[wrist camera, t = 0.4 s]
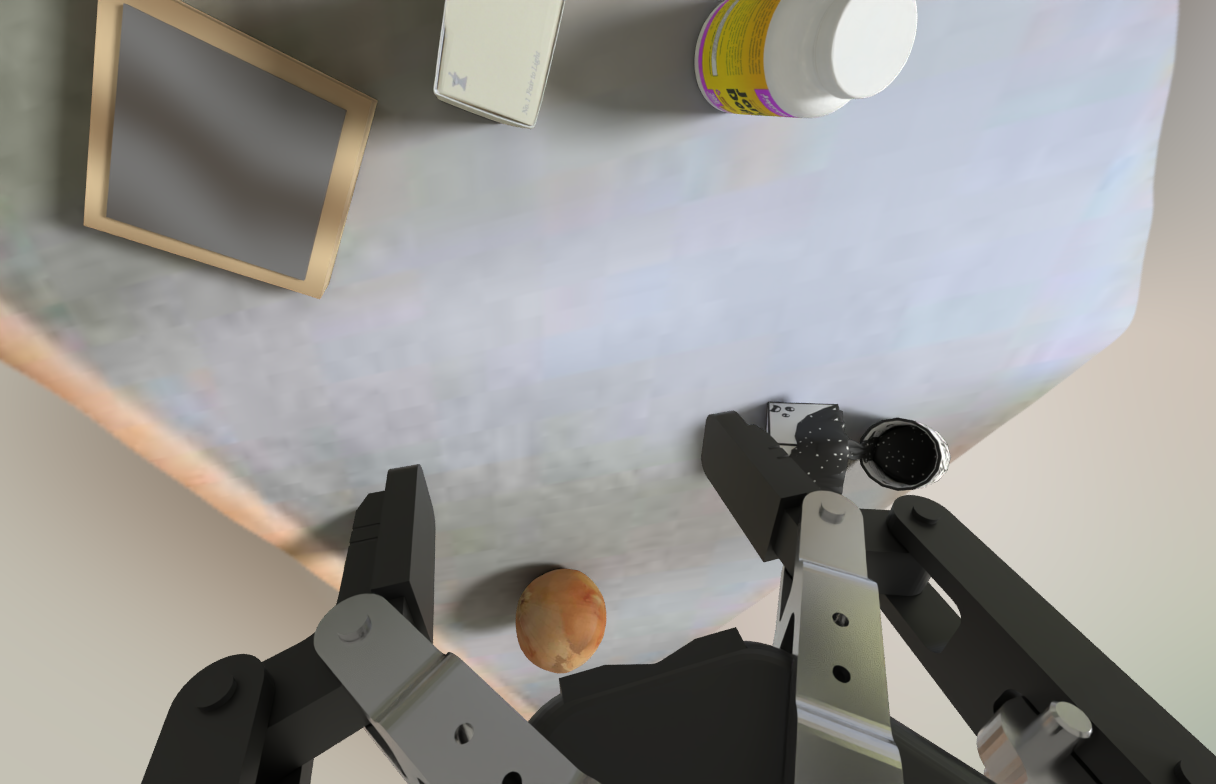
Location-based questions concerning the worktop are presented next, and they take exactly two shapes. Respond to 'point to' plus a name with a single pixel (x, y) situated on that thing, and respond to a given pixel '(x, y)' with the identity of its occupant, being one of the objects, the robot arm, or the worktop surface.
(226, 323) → the worktop surface
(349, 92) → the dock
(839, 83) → the supplement bottle
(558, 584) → the onion
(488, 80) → the skincare box
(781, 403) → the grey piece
